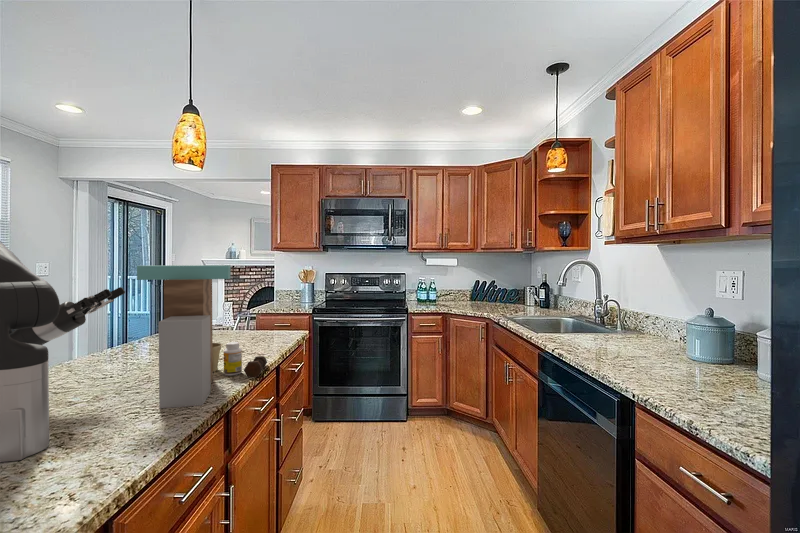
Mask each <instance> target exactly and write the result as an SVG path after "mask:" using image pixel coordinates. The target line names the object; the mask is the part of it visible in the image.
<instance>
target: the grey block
mask: <svg viewBox="0 0 800 533" xmlns="http://www.w3.org/2000/svg"><path fill="white" fill-rule="evenodd" d="M211 383H212V382H211V371H210V315H203V316H171V317H169V318H166V319H162V320H160V321H158V388H159V389H158V392H159V393H158V401H159V403H158V404H159V406H158V409H167V408H169V409H170V408H181V407H182V408H183V407H194V406H203V405H204V404H205V402H206V400H207V399H208V397H209V396H210V394H212V392H211V387H212V386H211Z"/></svg>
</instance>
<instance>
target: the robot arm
mask: <svg viewBox="0 0 800 533" xmlns="http://www.w3.org/2000/svg"><path fill="white" fill-rule="evenodd" d="M125 294H126V290H124V288H123V287H122V286H120V287H117V288H115V289H113V290H112V291H110V289H109V288H105V289H103V290H102V291H101V290H100V292H97V293H96V294H94V295H90V296H87V297H84V298H82V299H80V300H79V301H76V302H74V301H73V302H72V301H69V300H68V301H64V302H63V303H61V302H60V299H59V296H58V294H57V291H56V290H55V288H54V287H53V286H52V285H51V284H50V283H49V282H48V281H46V280H44V278H42V277H40V276H39V275H37V274H36V273H34V272H33V271H31V270H30V269H29V268H28V267H27V266H26V265H24V263H23V262H22V261H21V260H20V259H19V258H18V256H16V255H15V253H14V252H12V251H11V250H10V249H9V248H8V247H7V246H6V245H5V244H4V243H3V242H2V241H1V240H0V463H3V462H15V461H16V462H17V461H21V460H24V459H26V458H27V457H29V456H33V455H35V454H37V453H39V452H42V451H44V450H46V449H47V448H48V447H49V446H50V441H51V440H50V392H49V390H50V386H49V385H50V384H49V383H50V382H49V381H50V380H49V379H50V378H49V377H50V375H49V374H50V373H49V349H48V347H47V346H45V344H47V343H49V342H50V341H53V340H55V339H57V338H60V337H62V336H64V335H65V334H68V333H70V332H71V331H73V330H75V329H78V328H79V327H81V326H82V325H84V324H85V323H86V321H87V320H86V315H91V314H92V313H95V312H96V311H98V310H99V309H100V310H101V308H103V307H105V306H107V305H109V304H111V303H113V302H114V301H115V300H116V299H117V298H119V297H121V296H122V295H125ZM106 299H107V300H106ZM105 300H106V301H105ZM60 303H61V304H60Z"/></svg>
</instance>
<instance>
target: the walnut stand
mask: <svg viewBox="0 0 800 533" xmlns="http://www.w3.org/2000/svg"><path fill="white" fill-rule="evenodd" d="M203 315H210V371H211V383H212V381H213V376H214V374H213V373H214V372H213V347H212V343H213V279H175V280H163V318H164V319H166V318H169V317H171V316H203ZM164 319H163V320H164Z"/></svg>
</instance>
